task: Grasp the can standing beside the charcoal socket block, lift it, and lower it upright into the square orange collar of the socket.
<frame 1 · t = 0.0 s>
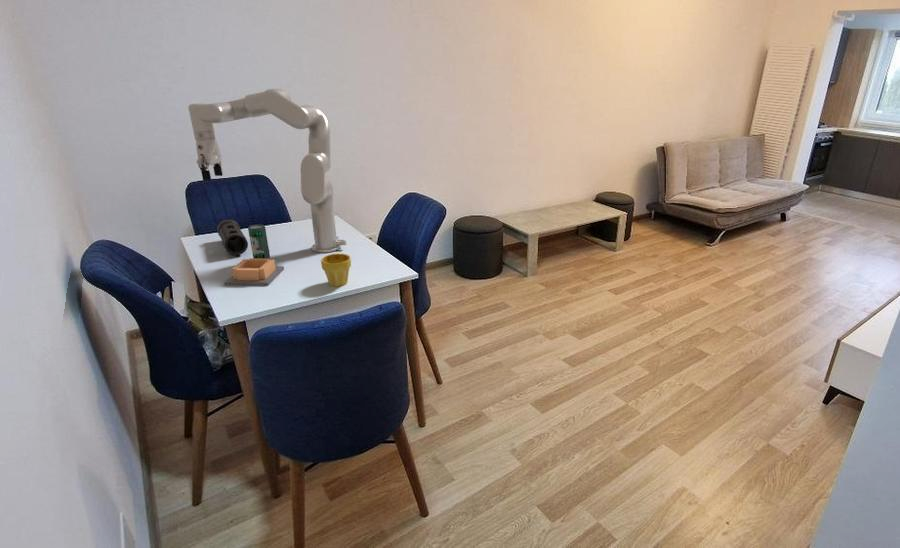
hand: (213, 177, 193), 31 cm above the table, tool pointing down, fingers open, 9 cm apart
muzzle brake: (234, 248, 205), on the table
can: (262, 262, 189), on the table
plant pot: (338, 283, 169), on the table
socket block: (255, 276, 174), on the table
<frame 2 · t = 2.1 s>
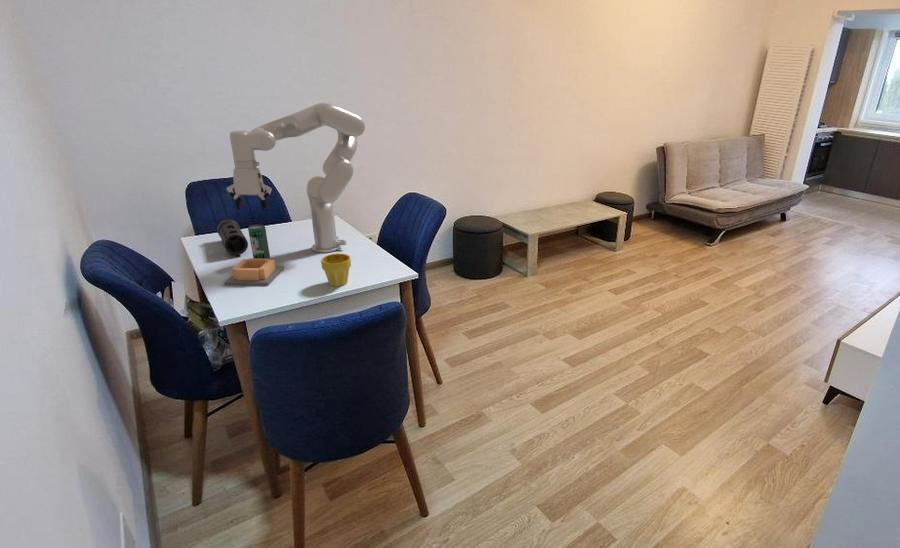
hand: (252, 208, 180), 22 cm above the table, tool pointing down, fingers open, 9 cm apart
nothing on the table moved.
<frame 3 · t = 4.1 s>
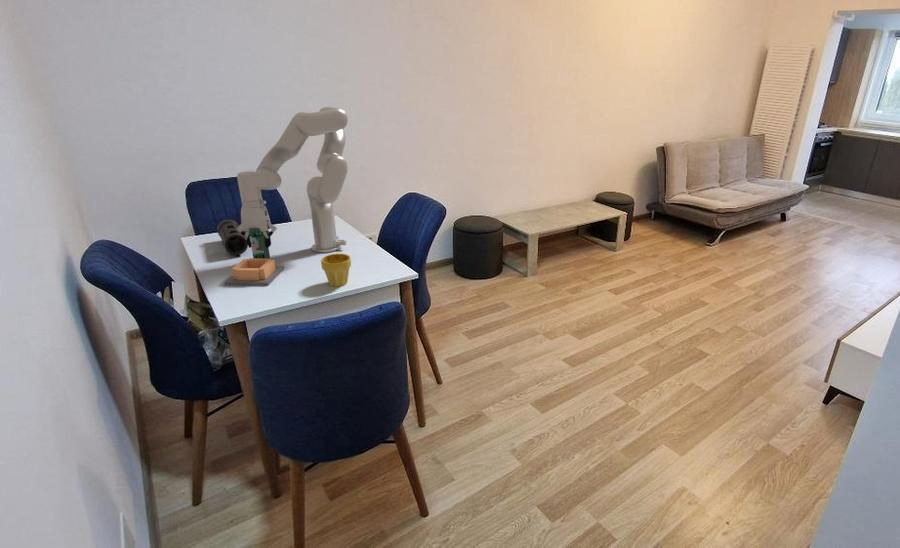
hand: (259, 246, 186), 7 cm above the table, tool pointing down, fingers closed on can, 6 cm apart
can: (262, 262, 189), on the table, touching gripper
everything else where it was.
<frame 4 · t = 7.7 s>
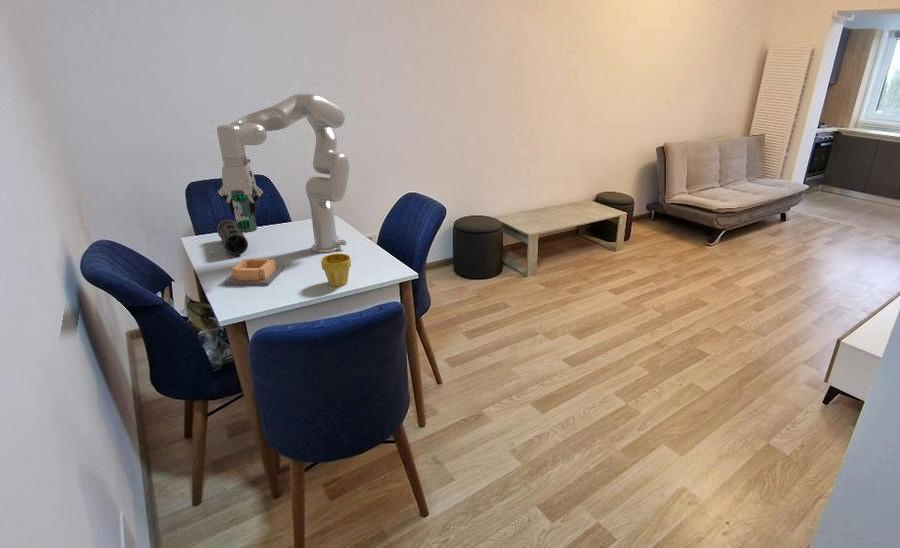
hand: (244, 212, 164), 25 cm above the table, tool pointing down, fingers closed on can, 6 cm apart
can: (247, 230, 167), point 18 cm above the table, touching gripper
everything else where it was.
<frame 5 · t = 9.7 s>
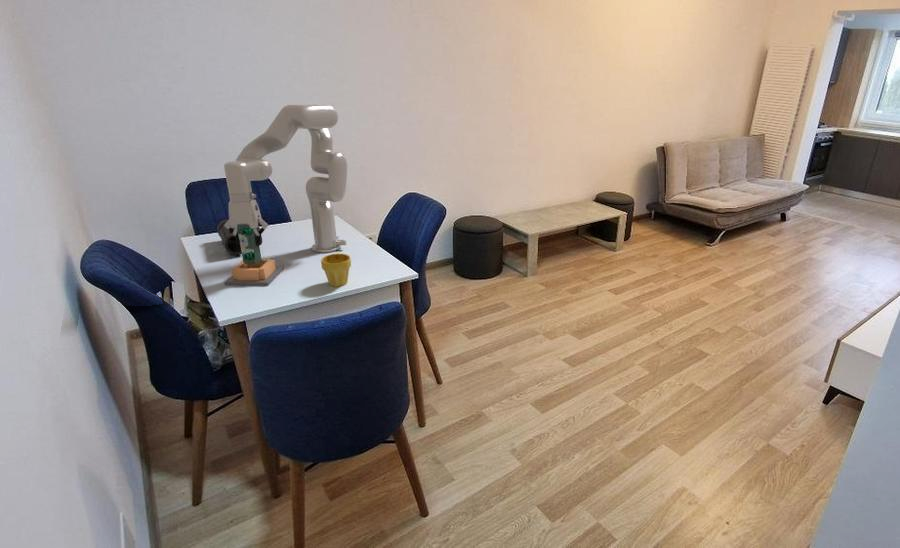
hand: (249, 244, 169), 13 cm above the table, tool pointing down, fingers closed on can, 6 cm apart
can: (252, 262, 172), point 6 cm above the table, touching gripper
everything else where it was.
when the fingers open (9 cm above the table, at t = 11.5 s): can drops 1 cm, resting on socket block.
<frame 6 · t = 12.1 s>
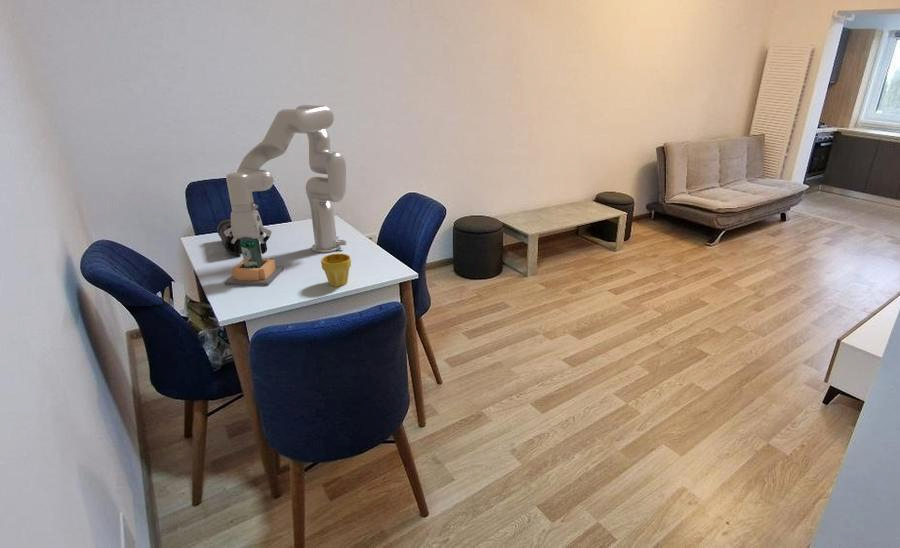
hand: (251, 252, 170), 10 cm above the table, tool pointing down, fingers open, 9 cm apart
can: (255, 274, 174), point 1 cm above the table, touching socket block
everything else where it was.
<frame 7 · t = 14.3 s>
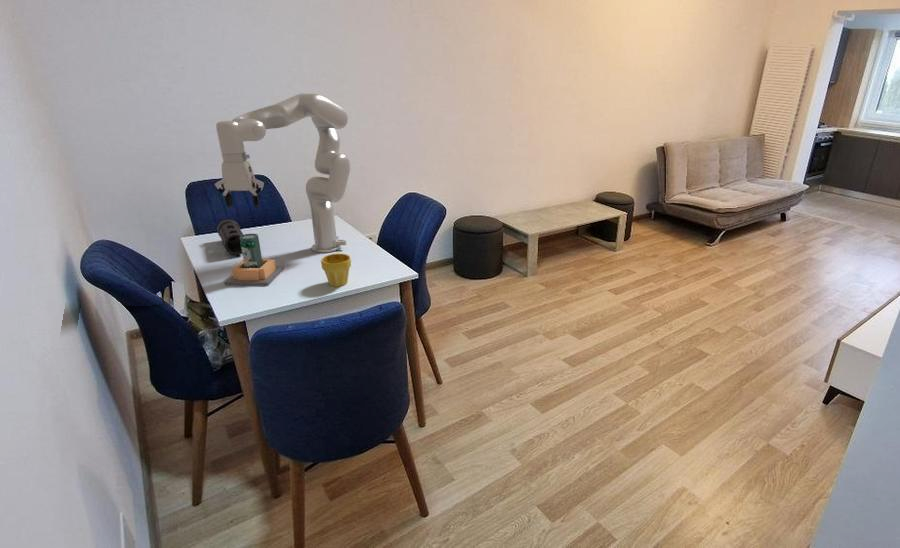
hand: (243, 205, 167), 27 cm above the table, tool pointing down, fingers open, 9 cm apart
nothing on the table moved.
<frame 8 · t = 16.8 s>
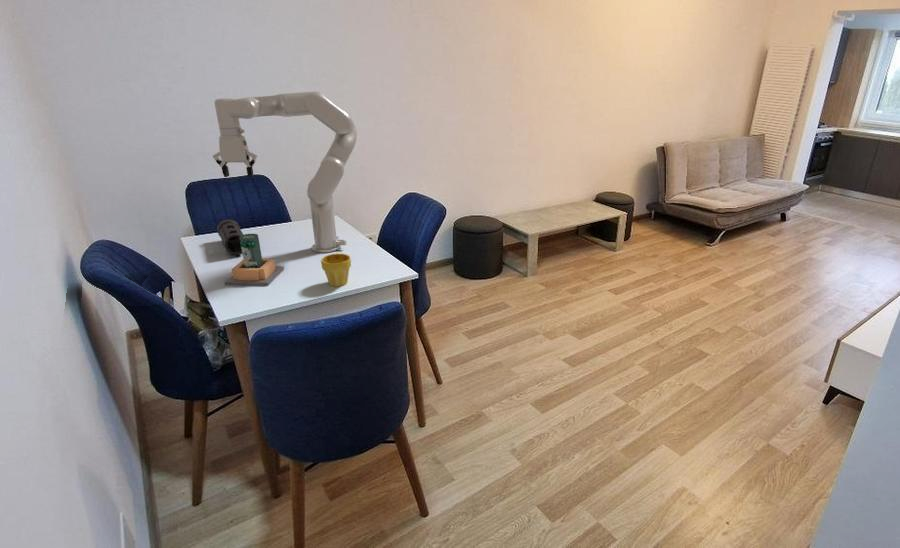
hand: (238, 176, 184), 33 cm above the table, tool pointing down, fingers open, 9 cm apart
nothing on the table moved.
at the end: can 0.2 cm off-centre on the socket block, point 1.0 cm above the socket block's base; can tilted 0°; the gripper is holding nothing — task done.
